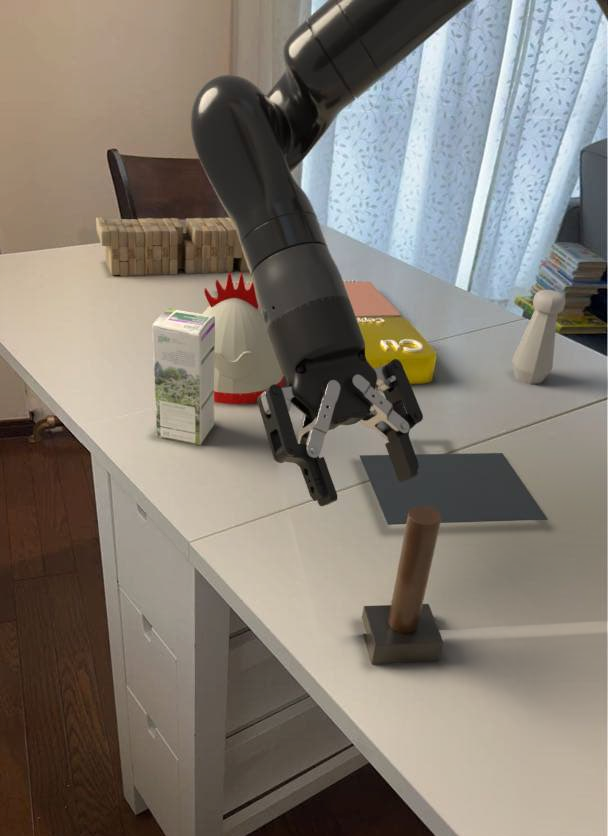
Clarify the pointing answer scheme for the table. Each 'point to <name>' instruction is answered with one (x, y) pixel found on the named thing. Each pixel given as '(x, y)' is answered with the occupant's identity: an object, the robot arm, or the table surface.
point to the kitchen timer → (241, 346)
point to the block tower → (170, 246)
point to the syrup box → (184, 375)
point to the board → (453, 488)
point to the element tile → (398, 347)
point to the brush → (407, 600)
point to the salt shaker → (538, 339)
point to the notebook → (359, 299)
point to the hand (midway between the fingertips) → (370, 491)
